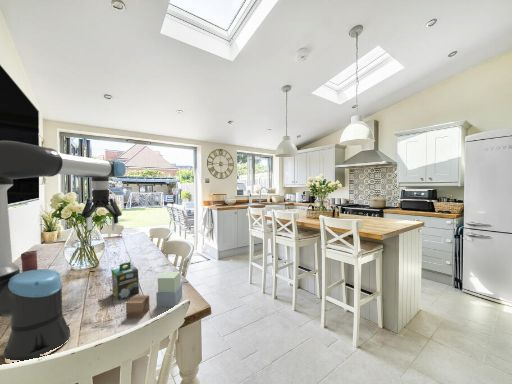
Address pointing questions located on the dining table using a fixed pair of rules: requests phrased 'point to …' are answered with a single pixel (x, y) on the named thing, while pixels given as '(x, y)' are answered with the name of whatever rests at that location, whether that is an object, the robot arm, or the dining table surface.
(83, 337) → the dining table surface
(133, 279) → the chalk box
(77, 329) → the dining table surface
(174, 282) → the sage block
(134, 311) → the walnut block
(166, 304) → the slate block
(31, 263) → the can
